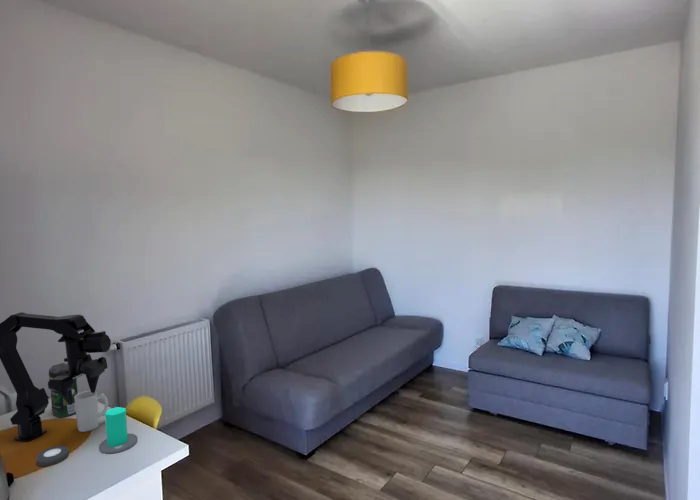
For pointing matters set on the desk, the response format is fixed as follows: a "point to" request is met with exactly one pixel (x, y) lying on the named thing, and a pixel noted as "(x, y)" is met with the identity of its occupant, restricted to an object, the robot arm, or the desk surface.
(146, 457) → the desk surface
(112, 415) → the candle
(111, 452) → the slate coaster
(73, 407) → the coffee jar
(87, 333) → the robot arm
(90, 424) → the mug
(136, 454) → the desk surface
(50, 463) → the dark grey washer
